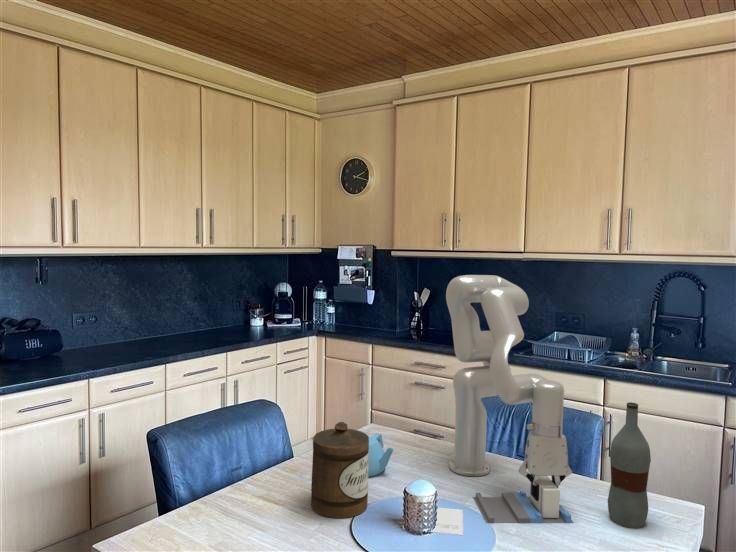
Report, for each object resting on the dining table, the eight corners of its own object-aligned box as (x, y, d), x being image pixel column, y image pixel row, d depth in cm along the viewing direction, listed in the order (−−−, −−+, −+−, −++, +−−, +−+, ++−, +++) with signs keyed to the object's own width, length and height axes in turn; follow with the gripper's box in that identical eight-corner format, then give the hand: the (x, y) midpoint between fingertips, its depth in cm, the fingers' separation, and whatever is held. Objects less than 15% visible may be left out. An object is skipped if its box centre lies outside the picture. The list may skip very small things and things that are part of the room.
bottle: (640, 513, 141) (646, 400, 140) (653, 531, 132) (659, 410, 131) (602, 509, 143) (607, 397, 142) (612, 527, 134) (617, 407, 133)
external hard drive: (462, 515, 139) (463, 541, 127) (430, 512, 141) (428, 537, 128) (463, 509, 139) (463, 534, 127) (431, 506, 140) (428, 530, 128)
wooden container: (355, 523, 133) (357, 435, 132) (301, 512, 138) (302, 427, 137) (375, 498, 147) (377, 418, 146) (325, 488, 152) (327, 411, 151)
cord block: (529, 499, 146) (530, 473, 145) (544, 499, 146) (545, 473, 146) (542, 517, 136) (544, 490, 135) (558, 517, 136) (560, 490, 136)
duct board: (472, 499, 147) (472, 490, 147) (552, 500, 148) (552, 490, 148) (486, 526, 133) (486, 515, 133) (574, 526, 134) (574, 515, 134)
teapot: (394, 478, 160) (395, 442, 159) (344, 482, 157) (344, 445, 156) (381, 458, 175) (382, 425, 174) (335, 461, 172) (336, 428, 171)
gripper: (519, 433, 136) (517, 505, 137) (585, 434, 136) (581, 505, 137) (510, 424, 143) (508, 492, 144) (572, 424, 144) (569, 492, 145)
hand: (544, 497), depth 141 cm, fingers closed on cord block, 3 cm apart
